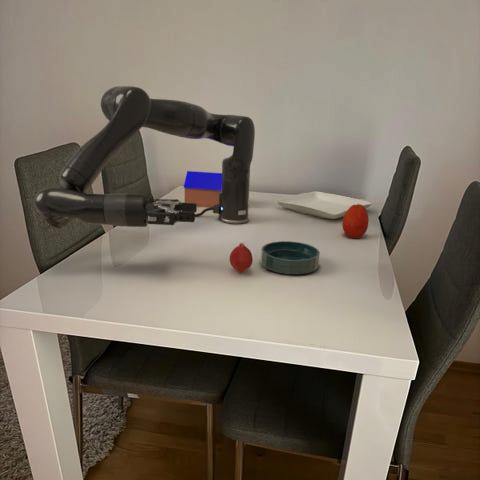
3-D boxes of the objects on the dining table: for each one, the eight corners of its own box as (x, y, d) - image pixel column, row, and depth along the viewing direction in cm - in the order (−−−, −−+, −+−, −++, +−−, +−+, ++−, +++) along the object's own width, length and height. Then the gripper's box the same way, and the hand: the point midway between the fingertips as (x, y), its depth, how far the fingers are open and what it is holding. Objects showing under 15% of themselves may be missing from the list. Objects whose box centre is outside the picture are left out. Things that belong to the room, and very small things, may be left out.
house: (235, 209, 171) (236, 177, 165) (183, 205, 173) (183, 173, 168) (240, 201, 181) (241, 171, 176) (191, 198, 184) (191, 168, 178)
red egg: (349, 230, 151) (354, 198, 146) (371, 236, 146) (377, 203, 141) (335, 235, 146) (340, 202, 141) (357, 242, 141) (363, 207, 136)
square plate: (372, 211, 175) (374, 201, 173) (334, 224, 157) (335, 213, 155) (314, 198, 191) (315, 189, 189) (273, 209, 173) (274, 198, 171)
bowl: (250, 267, 119) (251, 252, 117) (276, 251, 130) (277, 237, 128) (304, 281, 112) (305, 265, 110) (326, 263, 124) (328, 248, 122)
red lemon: (228, 268, 118) (229, 238, 114) (250, 268, 118) (252, 238, 114) (230, 277, 113) (230, 246, 109) (253, 277, 113) (254, 246, 109)
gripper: (119, 201, 99) (194, 203, 99) (130, 187, 111) (197, 189, 112) (122, 234, 102) (194, 236, 103) (132, 217, 115) (197, 219, 116)
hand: (195, 212), depth 107 cm, fingers open, 8 cm apart
